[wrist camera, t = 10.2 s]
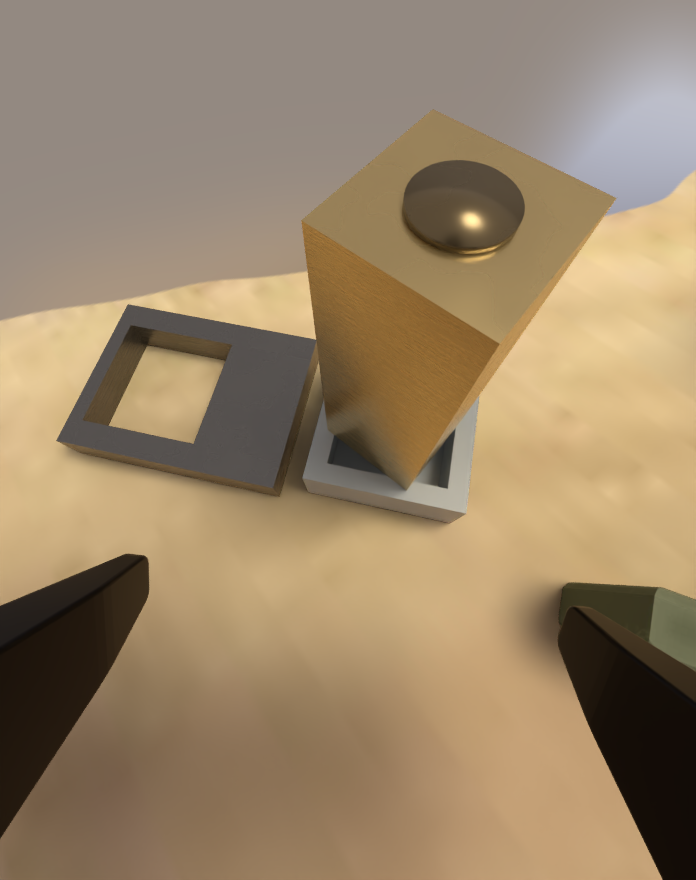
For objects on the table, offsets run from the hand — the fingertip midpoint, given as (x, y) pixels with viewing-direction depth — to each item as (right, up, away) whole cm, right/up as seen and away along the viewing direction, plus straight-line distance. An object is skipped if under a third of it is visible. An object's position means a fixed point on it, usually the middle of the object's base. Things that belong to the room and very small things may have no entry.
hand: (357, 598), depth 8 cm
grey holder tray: (-9, +6, +15) cm, 19 cm away
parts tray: (+2, +3, +14) cm, 15 cm away
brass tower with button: (+2, +4, +12) cm, 13 cm away
